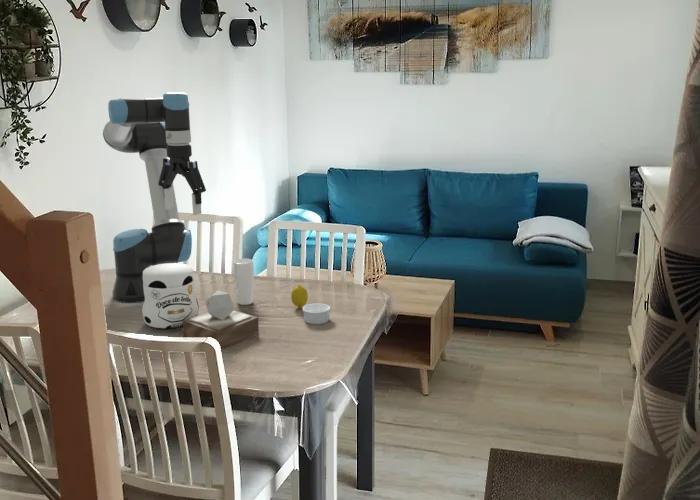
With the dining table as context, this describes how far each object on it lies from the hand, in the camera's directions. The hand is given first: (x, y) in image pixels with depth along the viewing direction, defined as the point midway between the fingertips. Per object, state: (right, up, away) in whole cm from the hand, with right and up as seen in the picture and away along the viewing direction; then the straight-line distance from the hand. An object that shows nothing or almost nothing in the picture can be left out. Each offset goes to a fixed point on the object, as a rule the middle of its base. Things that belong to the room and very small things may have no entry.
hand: (183, 211), depth 228 cm
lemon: (+36, -32, +15) cm, 50 cm away
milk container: (-4, -36, +1) cm, 36 cm away
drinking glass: (+17, -31, +20) cm, 40 cm away
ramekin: (+42, -35, +4) cm, 55 cm away
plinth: (+14, -38, -8) cm, 42 cm away
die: (+14, -33, -10) cm, 37 cm away
